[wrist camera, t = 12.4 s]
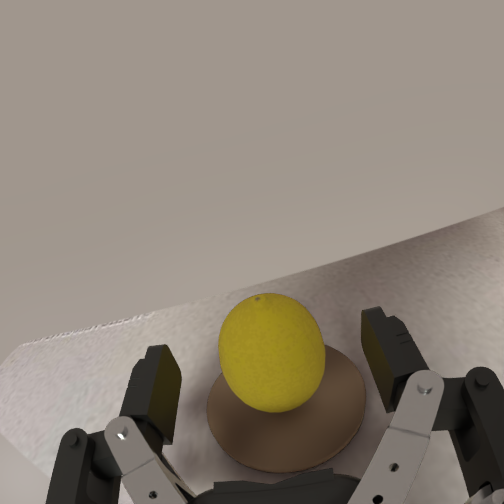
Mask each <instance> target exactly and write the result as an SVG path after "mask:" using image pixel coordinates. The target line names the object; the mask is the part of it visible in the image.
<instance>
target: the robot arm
mask: <svg viewBox="0 0 504 504" xmlns="http://www.w3.org/2000/svg"><path fill="white" fill-rule="evenodd" d="M361 343H362V348H363V351H364V354H365V356H366V359H367V362H368V364H369V367H370V369H371V372H372V375H373V377H374V380H375V383H376V385H377V388H378V391H379V393H380V396H381V399H382V402H383V404H384V407H385V410H386V413H390V412H394V411H395V414H394V416H393V419H392V421H391V423H390V425H389V426H388V428H387V429H386V431H385V433H384V436H383V438H382V440H381V442H380V444H379V446H378V448H377V450H376V452H375V454H374V456H373V458H372V460H371V462H370V464H369V466H368V468H367V470H366V472H365V474H364V475H363V477H362V479H359V478H356V477H353V476H349V475H342V474H333V469H332V468H329V469H324V470H319V471H314V472H308V473H303V474H300V475H297V476H295V477H292V478H290V479H287V480H284V481H281V482H279V483H276V484H263V483H255V482H248V481H227V482H214V489H211V490H208V491H205V492H203V493H201V494H199V495H198V496H196V495H195V494H194V492H193V491H192V490H191V489H190V488H189V487H188V486H187V485H186V484H185V483H184V481H183V480H182V479H181V477H180V476H179V475H178V473H177V472H176V471H175V469H174V468H173V466H172V465H171V464H170V462H169V461H168V459H167V458H166V456H165V455H164V454H163V452H162V448H163V445H172V443H173V436H174V429H175V422H176V415H177V408H178V401H179V395H180V388H181V382H182V376H181V371H180V368H179V366H178V364H177V362H176V360H175V358H174V357H173V355H172V353H171V351H170V349H169V347H168V346H167V345H166V344H164V345H156V346H149V347H148V349H147V352H146V355H145V359H140V360H139V361H138V362H137V364H136V365H135V366H134V368H133V370H132V373H131V376H130V380H129V383H128V388H127V390H126V393H125V397H124V400H123V404H122V407H121V411H120V415H119V417H117V418H115V419H113V420H111V421H110V422H109V423H108V425H107V426H106V428H105V430H103V431H99V432H96V433H92V434H87V433H86V432H85V431H84V430H82V429H80V428H74V429H71V430H69V431H67V432H66V433H65V434H64V436H63V437H62V439H61V442H60V446H59V450H58V453H57V457H56V461H55V465H54V469H53V473H52V477H51V481H50V486H49V490H48V495H47V500H46V504H118V499H119V491H120V483H121V480H122V483H123V485H124V486H125V488H126V490H127V492H128V494H129V495H130V497H131V499H132V501H133V502H134V504H403V502H404V500H405V498H406V496H407V494H408V492H409V490H410V487H411V485H412V483H413V481H414V478H415V476H416V474H417V471H418V469H419V466H420V464H421V461H422V459H423V456H424V454H425V451H426V448H427V445H428V443H429V439H430V437H429V436H430V433H431V431H441V430H448V431H449V434H450V437H451V439H452V442H453V445H454V448H455V451H456V454H457V457H458V460H459V464H460V467H461V470H462V473H463V477H464V480H465V483H466V487H467V490H468V494H469V499H468V500H467V501H466V502H465V503H464V504H504V389H503V387H502V385H501V383H500V381H499V379H498V378H497V376H496V374H495V373H494V372H493V371H492V370H491V369H489V368H486V367H475V368H473V369H471V370H470V371H469V372H468V373H467V375H466V377H462V378H442V377H441V376H440V375H439V374H437V373H436V372H434V371H431V370H430V369H429V368H428V366H427V364H426V362H425V361H424V359H423V357H422V355H421V353H420V351H419V349H418V348H417V346H416V344H415V342H414V341H413V339H412V337H411V335H410V334H409V331H408V330H407V328H406V326H405V324H404V323H403V322H402V321H401V320H399V319H398V318H397V317H395V316H390V317H386V316H385V314H384V312H383V310H382V308H381V307H380V306H378V307H374V308H370V309H366V310H362V313H361ZM121 475H123V476H121Z"/></svg>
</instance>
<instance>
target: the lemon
mask: <svg viewBox="0 0 504 504" xmlns="http://www.w3.org/2000/svg"><path fill="white" fill-rule="evenodd" d="M218 348H219V358H220V365H221V369H222V372H223V375H224V377H225V379H226V381H227V383H228V385H229V386H230V388H231V390H232V391H233V392H234V393H235V395H236V396H238V397H239V398H240V399H241V400H242V401H243V402H244V403H245V404H247V405H249V406H251V407H253V408H255V409H257V410H261V411H265V412H270V413H273V412H284V411H289V410H292V409H294V408H296V407H298V406H300V405H302V404H303V403H304V402H306V401H307V400H308V399H309V398H311V396H312V395H313V394H314V392H315V391H316V390H317V388H318V387H319V384H320V382H321V379H322V377H323V374H324V369H325V346H324V342H323V339H322V336H321V332H320V330H319V327H318V325H317V323H316V321H315V320H314V318H313V317H312V315H311V314H310V313H309V311H308V310H307V309H306V308H305V307H304V306H303V305H302V304H300V303H299V302H297V301H296V300H294V299H292V298H290V297H287V296H284V295H280V294H274V293H265V294H258V295H255V296H252V297H249V298H247V299H245V300H243V301H242V302H240V303H239V304H238V305H237V306H235V307H234V308H233V309H232V311H231V312H230V313H229V314H228V315H227V317H226V319H225V320H224V322H223V324H222V327H221V331H220V335H219V342H218Z"/></svg>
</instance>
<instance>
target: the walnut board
mask: <svg viewBox="0 0 504 504" xmlns="http://www.w3.org/2000/svg"><path fill="white" fill-rule="evenodd" d="M324 346H325V369H324V374H323V377H322V379H321V382H320V384H319V387H318V388H317V390H316V391H315V392H314V394H313V395H312V396H311V398H309V399H308V400H307V401H306V402H304V403H303V404H302V405H300V406H298V407H296V408H294V409H292V410H289V411H284V412H273V413H270V412H265V411H261V410H257V409H255V408H253V407H251V406H249V405H247V404H245V403H244V402H243V401H242V400H241V399H240V398H239V397H238V396H236V395H235V393H234V392H233V391H232V390H231V388H230V386H229V385H228V383H227V381H226V379H225V377H224V375H223V372H222V373H221V374H220V376H219V377H218V378H217V380H216V381H215V383H214V385H213V387H212V389H211V391H210V394H209V397H208V402H207V419H208V423H209V427H210V429H211V432H212V434H213V436H214V437H215V439H216V440H217V442H218V443H219V445H220V446H221V447H222V449H223V450H224V451H225V452H226V453H227V454H228V455H229V456H231V457H232V458H233V459H235V460H236V461H237V462H239V463H241V464H243V465H245V466H247V467H250V468H253V469H256V470H260V471H265V472H272V473H289V472H296V471H302V470H305V469H309V468H312V467H315V466H317V465H319V464H321V463H324V462H326V461H327V460H329V459H330V458H332V457H334V456H335V455H336V454H338V453H339V452H340V451H341V450H342V449H344V448H345V447H346V445H347V444H348V443H349V442H350V441H351V440H352V438H353V437H354V436H355V434H356V433H357V431H358V429H359V427H360V425H361V422H362V419H363V416H364V410H365V402H366V390H365V385H364V381H363V379H362V376H361V374H360V372H359V370H358V369H357V367H356V366H355V365H354V364H353V362H352V361H351V360H350V359H348V358H347V357H346V356H345V355H343V354H342V353H341V352H339V351H337V350H335V349H333V348H331V347H329V346H326V345H324Z"/></svg>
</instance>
